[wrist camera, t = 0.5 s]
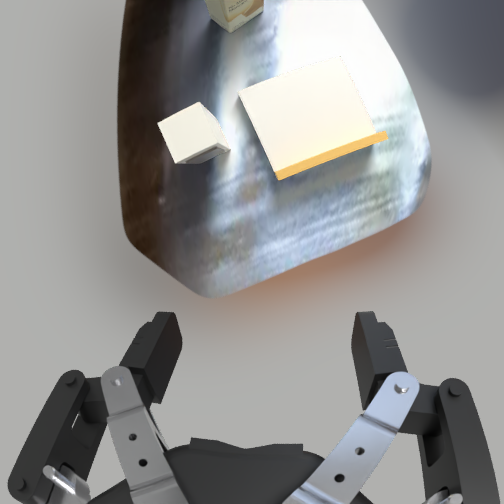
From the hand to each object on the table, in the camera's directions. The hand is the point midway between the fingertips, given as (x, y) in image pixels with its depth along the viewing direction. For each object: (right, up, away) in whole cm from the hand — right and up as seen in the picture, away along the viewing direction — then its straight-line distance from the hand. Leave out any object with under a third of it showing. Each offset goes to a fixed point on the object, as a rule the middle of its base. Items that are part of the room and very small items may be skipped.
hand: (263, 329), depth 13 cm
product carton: (-6, +17, +24) cm, 30 cm away
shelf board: (+7, +20, +22) cm, 31 cm away
